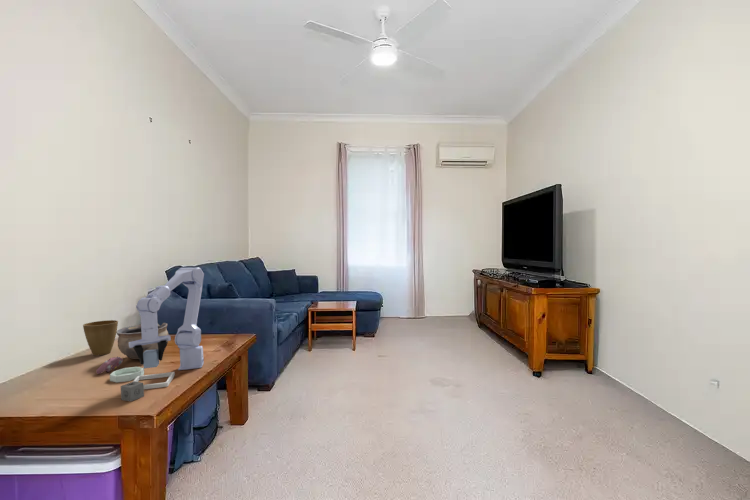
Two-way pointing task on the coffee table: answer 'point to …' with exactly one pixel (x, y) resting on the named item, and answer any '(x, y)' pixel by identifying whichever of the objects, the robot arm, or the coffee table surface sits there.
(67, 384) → the coffee table surface
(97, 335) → the plant pot
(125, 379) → the ceramic dish
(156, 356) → the slate block
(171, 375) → the white flat frame piece
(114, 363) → the video game controller
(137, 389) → the dice cube
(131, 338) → the ceramic bowl
